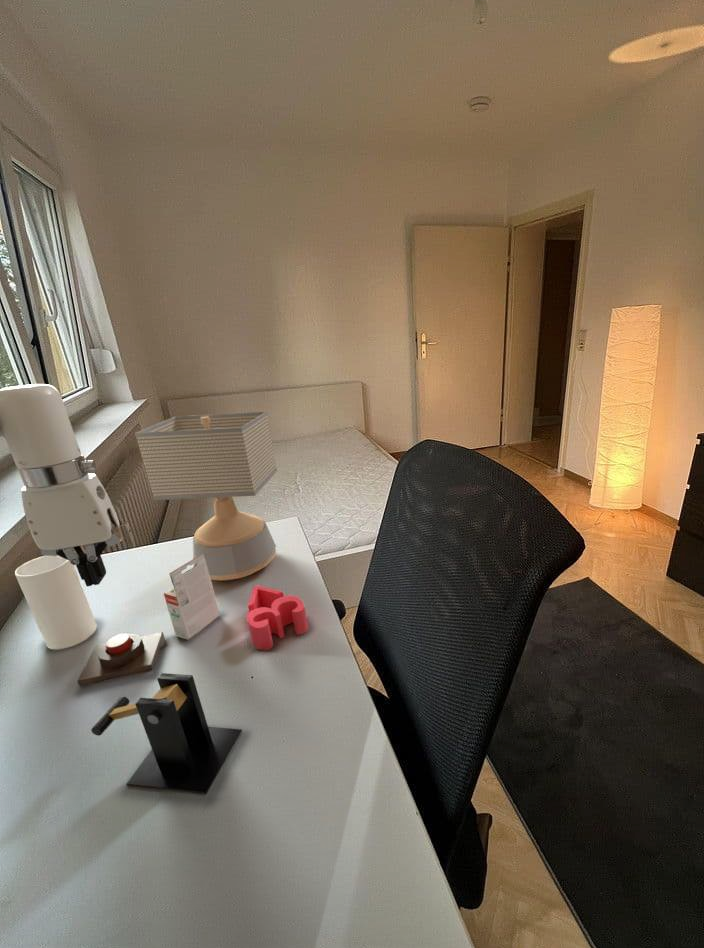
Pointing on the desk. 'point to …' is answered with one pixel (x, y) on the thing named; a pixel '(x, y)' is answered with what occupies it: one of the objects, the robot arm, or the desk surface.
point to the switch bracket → (181, 741)
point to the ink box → (191, 599)
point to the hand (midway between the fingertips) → (96, 580)
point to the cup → (56, 601)
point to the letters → (273, 615)
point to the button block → (123, 660)
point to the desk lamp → (216, 482)
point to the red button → (118, 644)
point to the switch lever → (125, 710)
